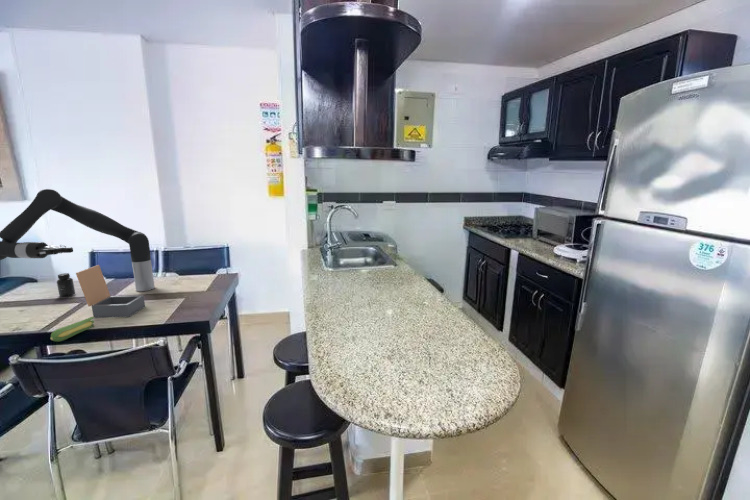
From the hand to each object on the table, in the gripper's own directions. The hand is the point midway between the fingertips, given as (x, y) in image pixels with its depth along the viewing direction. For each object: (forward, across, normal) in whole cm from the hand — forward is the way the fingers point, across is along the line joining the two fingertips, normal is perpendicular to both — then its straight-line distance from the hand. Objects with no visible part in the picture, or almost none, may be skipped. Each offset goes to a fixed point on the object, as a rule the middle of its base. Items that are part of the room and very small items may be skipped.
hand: (71, 250), depth 163 cm
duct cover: (+8, 0, +17) cm, 19 cm away
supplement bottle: (-28, +28, +32) cm, 50 cm away
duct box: (+17, 0, +31) cm, 36 cm away
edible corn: (+13, -22, +32) cm, 41 cm away
